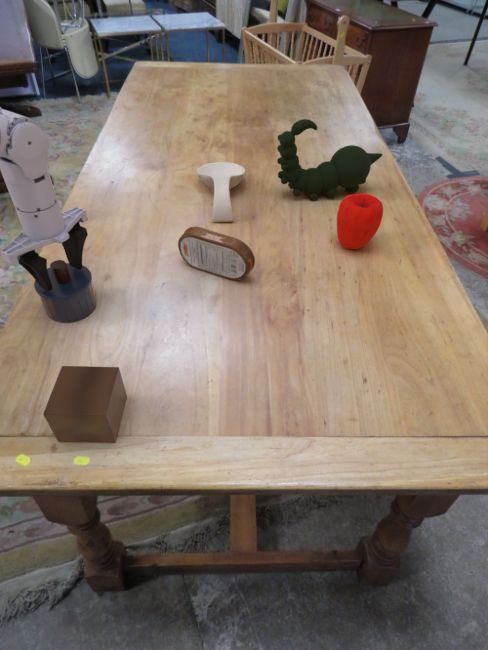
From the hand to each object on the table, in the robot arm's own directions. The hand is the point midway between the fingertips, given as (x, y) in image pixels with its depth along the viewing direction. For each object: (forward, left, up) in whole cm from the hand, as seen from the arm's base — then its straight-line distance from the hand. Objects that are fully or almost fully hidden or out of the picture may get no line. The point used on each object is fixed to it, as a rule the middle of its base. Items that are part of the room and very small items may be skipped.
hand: (61, 277), depth 71 cm
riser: (+10, -22, -6) cm, 25 cm away
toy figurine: (+50, +43, -7) cm, 66 cm away
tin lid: (0, 0, -1) cm, 1 cm away
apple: (+53, +21, -7) cm, 57 cm away
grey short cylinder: (0, 0, -6) cm, 6 cm away
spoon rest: (+25, +40, -7) cm, 47 cm away
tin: (+25, +11, -7) cm, 27 cm away
